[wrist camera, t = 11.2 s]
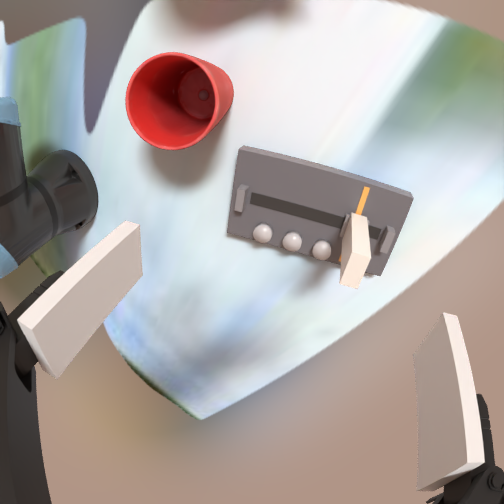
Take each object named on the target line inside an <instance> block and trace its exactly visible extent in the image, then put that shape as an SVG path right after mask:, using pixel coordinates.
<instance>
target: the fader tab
mask: <svg viewBox="0 0 504 504" xmlns="http://www.w3.org/2000/svg"><path fill="white" fill-rule="evenodd" d="M369 223H370V222H369V220H367V217H365V216H361V215H358V214H355V213H351V215H350V214H346V217H345V220H344V223H343V226H342V229H341V232H340V237H343V239H342V253H341V269H340V283H339V284H342V285H345V286H349V287H352V288H356V289H358V287H359V284H360V282H361V280H362V278H363V275H364V273H365V271H366V269H367V266H368V264H369V262H370V259H371V251H370V241H369V231H368V225H369Z"/></svg>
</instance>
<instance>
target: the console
mask: <svg viewBox="0 0 504 504" xmlns="http://www.w3.org/2000/svg"><path fill="white" fill-rule="evenodd" d="M413 199H414V198H413V196H412V194H411V193H410V192H408V191H405V190H402V189H399V188H396V187H393V186H390V185H387V184H384V183H381V182H378V181H375V180H372V179H369V178H365V177H362V176H359V175H356V174H352V173H349V172H346V171H342V170H339V169H335V168H332V167H328V166H325V165H321V164H318V163H314V162H310V161H306V160H303V159H299V158H295V157H291V156H287V155H283V154H279V153H274V152H270V151H266V150H262V149H257V148H253V147H248V146H242V147H241V148H240V149H239V151H238V157H237V164H236V171H235V178H234V185H233V192H232V200H231V207H230V214H229V222H228V229H227V233H231V234H235V235H238V236H242V237H245V238H249V239H252V240H256V241H257V242H259V243H267V244H270V245H274V246H277V247H281V248H284V249H286V250H288V251H291V252H294V251H295V252H298V253H302V254H305V255H309V256H312V257H315V258H317V259H319V260H326V261H330V262H333V263H336V264H340V265H341V253H342V239H343V237H340V232H341V229H342V226H343V223H344V220H345V217H346V214H350V215H351V213H355V214H358V215H361V216H365V217H367V220H369V222H370V223H369V225H368V231H369V241H370V251H371V259H370V262H369V264H368V266H367V269H366V271H365V272H367V273H371V274H374V275H377V276H381V274H382V272H383V270H384V268H385V265H386V263H387V261H388V259H389V257H390V254H391V252H392V250H393V248H394V245H395V243H396V241H397V238H398V236H399V234H400V231H401V229H402V226H403V224H404V222H405V219H406V217H407V214H408V212H409V209H410V207H411V204H412V201H413Z"/></svg>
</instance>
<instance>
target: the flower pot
mask: <svg viewBox="0 0 504 504" xmlns="http://www.w3.org/2000/svg"><path fill="white" fill-rule="evenodd" d="M233 96H234V91H233V85H232V82H231V80H230V78H229V76H228V75H227V74H226V73H225V72H224V71H223V70H222V69H220V68H219V67H217V66H215V65H213V64H211V63H209V62H207V61H204V60H201V59H199V58H196V57H193V56H190V55H187V54H183V53H177V52H168V53H162V54H159V55H156V56H153V57H151V58H149V59H148V60H146V61H145V62H144V63H142V64H141V65H140V66H139V67H138V68H137V70H136V71H135V72H134V74H133V75H132V77H131V79H130V81H129V84H128V87H127V91H126V111H127V115H128V118H129V121H130V123H131V125H132V127H133V128H134V130H135V131H136V133H137V134H138V135H139V136H140V137H141V138H142V139H143V140H144V141H146V142H147V143H149V144H151V145H153V146H155V147H158V148H160V149H166V150H180V149H184V148H188V147H190V146H193V145H195V144H196V143H198V142H199V141H201V140H202V139H203V138H204V137H205V136H206V135H207V134H208V133H209V132H210V131H211V130H212V129H213V128H214V127H215V126H216V125H217V124H218V123H219V121H220V120H221V119H222V118H223V116H224V115H225V114H226V112H227V111H228V109H229V108H230V106H231V104H232V101H233Z"/></svg>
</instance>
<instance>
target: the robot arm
mask: <svg viewBox="0 0 504 504" xmlns="http://www.w3.org/2000/svg"><path fill="white" fill-rule="evenodd" d="M20 127H21V123H20V122H19V116H18V107H17V103H16V101H15V100H14V99H13V98H11V97H2V98H0V279H1V278H3V277H4V276H6V275H7V274H9V273H10V272H11V271H13V270H14V269H17V268H18V266H19V265H20V264H21V263H22V262H23V261H25V260H26V259H27V258H28V257H29V256H31V255H32V254H33V253H34V252H36V251H37V250H38V249H39V248H40V247H42V246H43V245H44V244H45V243H47V242H48V241H49V240H50V239H52V238H53V237H54V236H56V235H59V234H63V233H66V232H70V231H74V230H77V229H80V228H82V227H83V226H85V225H86V224H87V223H89V222H90V221H91V220H92V219H93V217H94V216H95V213H96V211H97V205H98V195H97V189H96V185H95V181H94V179H93V176H92V174H91V172H90V170H89V169H88V167H87V166H86V164H85V163H84V162H83V161H82V160H81V159H80V158H79V157H78V156H77V155H76V154H74V153H72V152H70V151H67V150H58V151H55V152H53V153H51V154H49V155H47V156H46V157H44V158H43V159H42V160H41V162H40V163H39V164H38V165H37V166H36V167H35V168H34V169H33V170H32V171H31V172H30V173H29V174H28V176H26V170H25V164H24V157H23V149H22V140H21V131H20ZM142 275H143V273H142V258H141V241H140V225H139V224H135V223H132V222H129V221H124V222H123V223H122V224H121V225H119V226H118V227H117V228H116V229H115V230H113V231H112V232H111V233H110V234H109V235H107V236H106V237H105V238H104V239H103V240H101V241H100V242H99V243H98V244H97V245H96V246H94V247H93V248H92V249H91V250H90V251H89V252H88V253H86V254H85V255H84V256H83V257H82V258H81V259H80V260H79V261H77V262H76V263H75V264H74V265H73V266H72V267H71V268H70V269H69V270H68V271H66V272H63V271H59V272H57V273H55V274H53V275H51V276H49V277H48V278H47V279H46V280H45V281H43V282H42V283H41V284H40V286H38V287H37V288H36V289H35V290H34V291H33V293H31V294H30V295H29V296H28V297H27V298H26V299H25V300H23V301H22V302H21V303H20V304H19V306H17V307H16V308H15V310H13V311H12V312H11V313H10V314H9V315H8V316H7V313H6V311H5V309H4V307H3V305H2V303H1V302H0V504H52V503H51V500H50V494H49V490H48V485H47V480H46V475H45V469H44V463H43V456H42V450H41V443H40V433H39V424H38V411H37V395H36V371H35V367H34V365H35V364H36V363H37V362H39V364H40V365H41V367H42V369H43V370H44V371H45V372H47V373H48V374H50V375H51V376H53V377H54V378H56V379H58V378H59V376H61V374H62V373H63V372H64V370H65V369H66V368H67V366H68V365H69V363H70V362H71V361H72V360H73V359H74V357H75V356H76V355H77V354H78V352H79V351H80V350H81V348H82V347H83V346H84V345H85V343H86V342H87V341H88V340H89V338H90V337H91V336H92V335H93V333H94V332H95V331H96V330H97V329H98V327H99V326H100V325H101V324H102V322H103V321H104V320H105V319H106V318H107V316H108V315H109V314H110V313H111V312H112V310H113V309H114V308H115V307H116V306H117V304H118V303H119V302H120V301H121V300H122V299H123V297H124V296H125V295H126V294H127V293H128V292H129V290H130V289H131V288H132V287H133V286H134V285H135V283H136V282H137V281H138V280H139V279H140V278H141V277H142ZM413 357H414V368H415V378H416V393H417V413H418V475H417V477H418V478H417V491H434V490H437V489H439V488H440V487H443V486H444V492H443V493H441V494H439V495H437V496H435V497H432V498H430V499H429V500H428V501H427V502H426V503H427V504H428V503H430V502H433V501H434V502H433V504H504V472H503V470H502V469H501V468H499V467H498V466H495V461H494V451H493V442H492V434H491V430H490V421H489V420H488V419H489V415H488V408H487V405H486V403H485V401H484V399H483V397H482V395H481V394H476V392H475V387H474V382H473V377H472V372H471V368H470V363H469V359H468V355H467V351H466V347H465V343H464V339H463V335H462V332H461V328H460V325H459V321H458V318H457V316H455V315H451V314H448V313H444V312H443V313H442V315H441V316H440V318H439V319H438V321H437V322H436V324H435V325H434V326H433V328H432V329H431V331H430V332H429V334H428V335H427V336H426V338H425V339H424V341H423V342H422V343H421V345H420V346H419V348H418V349H417V350H416V351H415V353H414V354H413Z"/></svg>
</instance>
